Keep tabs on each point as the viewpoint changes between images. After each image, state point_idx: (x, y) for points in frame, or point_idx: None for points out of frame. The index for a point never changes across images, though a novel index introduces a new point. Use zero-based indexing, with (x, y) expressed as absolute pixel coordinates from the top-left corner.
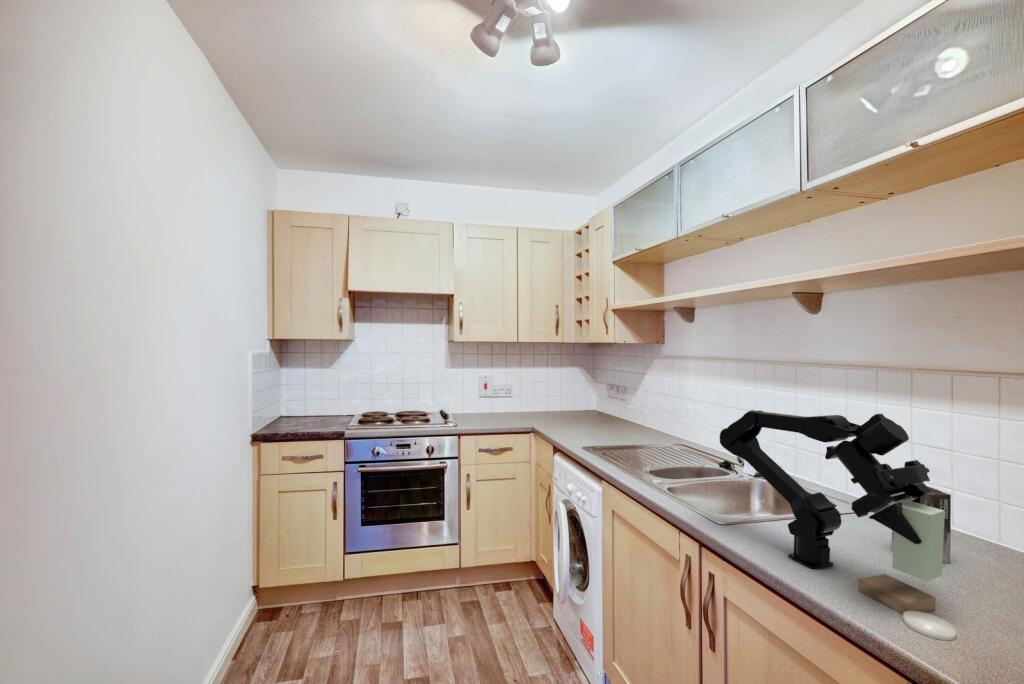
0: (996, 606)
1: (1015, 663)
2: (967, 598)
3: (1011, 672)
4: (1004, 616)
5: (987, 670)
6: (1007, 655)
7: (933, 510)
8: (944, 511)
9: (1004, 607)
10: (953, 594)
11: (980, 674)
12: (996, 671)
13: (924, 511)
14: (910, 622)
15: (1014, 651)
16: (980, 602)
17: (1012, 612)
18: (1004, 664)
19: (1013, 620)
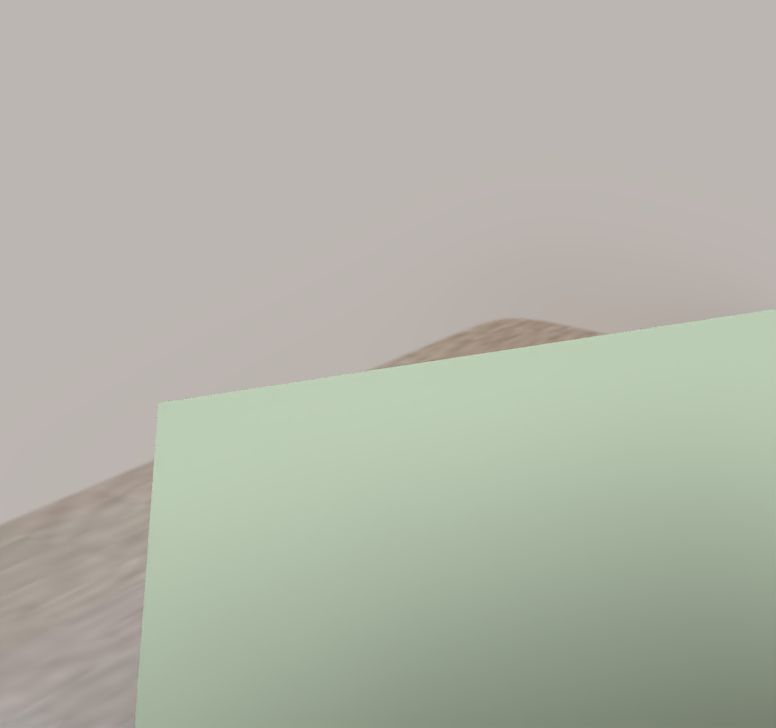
0: (58, 554)
1: (447, 337)
2: (82, 643)
3: (503, 320)
4: (138, 495)
5: (560, 339)
6: (426, 361)
7: (444, 466)
8: (178, 410)
9: (38, 539)
10: (94, 695)
11: (597, 335)
12: (539, 331)
13: (759, 475)
14: None
15: (381, 366)
16: (76, 598)
17: (65, 505)
18: (483, 342)
19: (145, 468)
